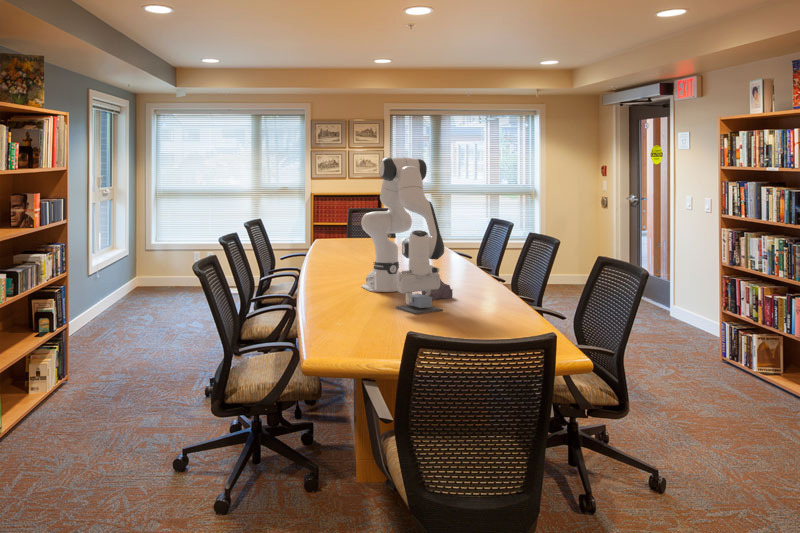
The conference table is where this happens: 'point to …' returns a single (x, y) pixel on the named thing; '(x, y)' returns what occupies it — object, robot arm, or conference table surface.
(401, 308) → the mat
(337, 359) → the conference table surface
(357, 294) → the conference table surface
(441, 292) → the stone
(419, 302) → the block
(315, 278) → the conference table surface
